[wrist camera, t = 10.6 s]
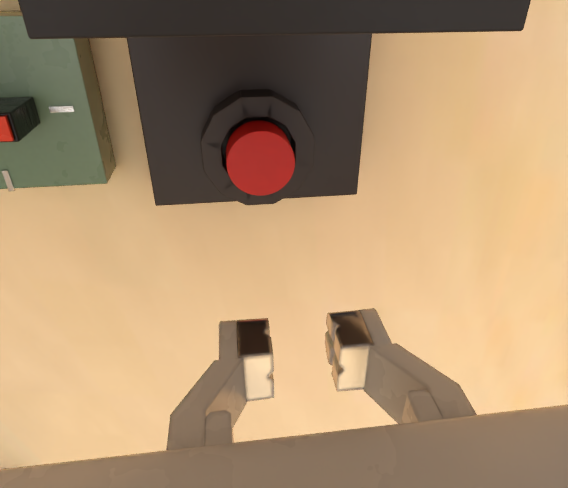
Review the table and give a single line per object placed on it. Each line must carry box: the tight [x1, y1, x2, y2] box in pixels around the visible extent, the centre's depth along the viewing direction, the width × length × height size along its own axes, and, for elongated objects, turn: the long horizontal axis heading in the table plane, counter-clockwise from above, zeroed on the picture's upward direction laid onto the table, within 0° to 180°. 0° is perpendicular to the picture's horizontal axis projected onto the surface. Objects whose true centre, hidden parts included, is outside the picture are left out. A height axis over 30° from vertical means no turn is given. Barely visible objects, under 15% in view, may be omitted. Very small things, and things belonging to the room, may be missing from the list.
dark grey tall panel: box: [127, 33, 372, 206], centre depth 29 cm, size 14×11×6 cm
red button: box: [226, 120, 295, 196], centre depth 26 cm, size 4×4×2 cm
